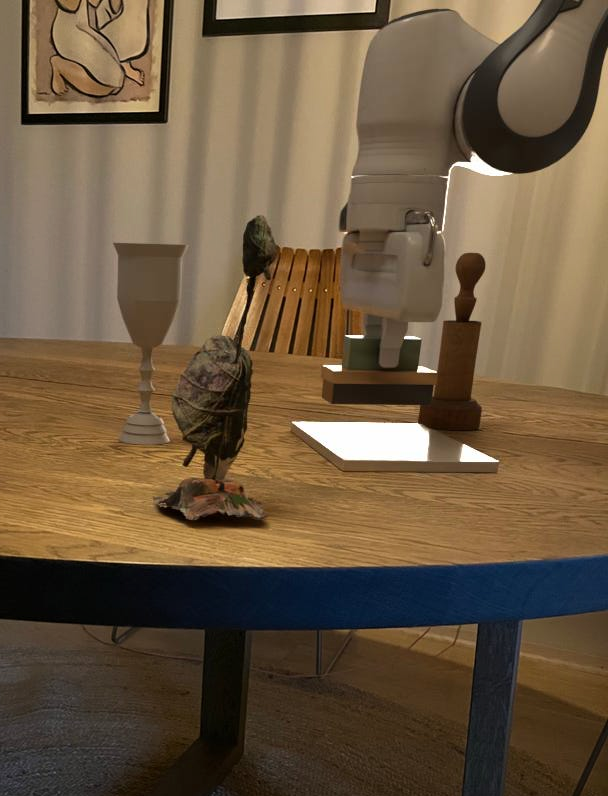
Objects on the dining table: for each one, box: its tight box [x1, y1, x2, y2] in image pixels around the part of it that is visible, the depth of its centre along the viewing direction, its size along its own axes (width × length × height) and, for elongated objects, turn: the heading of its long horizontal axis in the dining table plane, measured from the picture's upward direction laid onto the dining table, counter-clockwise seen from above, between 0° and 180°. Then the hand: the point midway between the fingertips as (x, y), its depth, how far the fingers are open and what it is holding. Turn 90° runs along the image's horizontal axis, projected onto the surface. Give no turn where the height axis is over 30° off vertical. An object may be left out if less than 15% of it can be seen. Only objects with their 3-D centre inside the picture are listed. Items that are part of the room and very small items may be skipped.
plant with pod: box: [152, 214, 277, 521], centre depth 72 cm, size 8×11×20 cm
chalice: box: [112, 242, 189, 446], centre depth 98 cm, size 7×7×18 cm
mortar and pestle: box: [417, 252, 487, 431], centre depth 111 cm, size 7×6×18 cm
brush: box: [320, 334, 438, 406], centre depth 101 cm, size 10×4×6 cm, turn 95°
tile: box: [290, 421, 500, 474], centre depth 99 cm, size 14×20×1 cm
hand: (380, 364), depth 101 cm, fingers closed on brush, 2 cm apart
